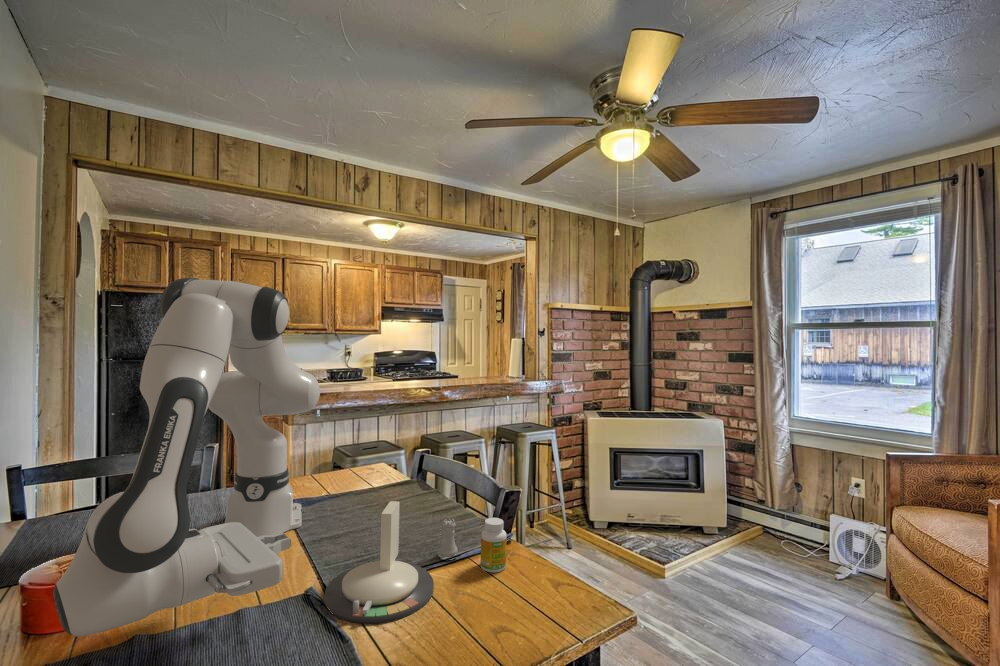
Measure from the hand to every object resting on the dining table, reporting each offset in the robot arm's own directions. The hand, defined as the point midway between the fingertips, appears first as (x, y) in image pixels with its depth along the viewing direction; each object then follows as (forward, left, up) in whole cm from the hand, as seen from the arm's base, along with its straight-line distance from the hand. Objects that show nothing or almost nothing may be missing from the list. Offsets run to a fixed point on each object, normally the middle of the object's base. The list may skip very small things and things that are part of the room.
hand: (287, 540), depth 83 cm
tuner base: (-3, +16, -12) cm, 20 cm away
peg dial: (-3, +16, -11) cm, 20 cm away
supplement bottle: (-9, +39, -12) cm, 42 cm away
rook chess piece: (-15, +30, -12) cm, 36 cm away
